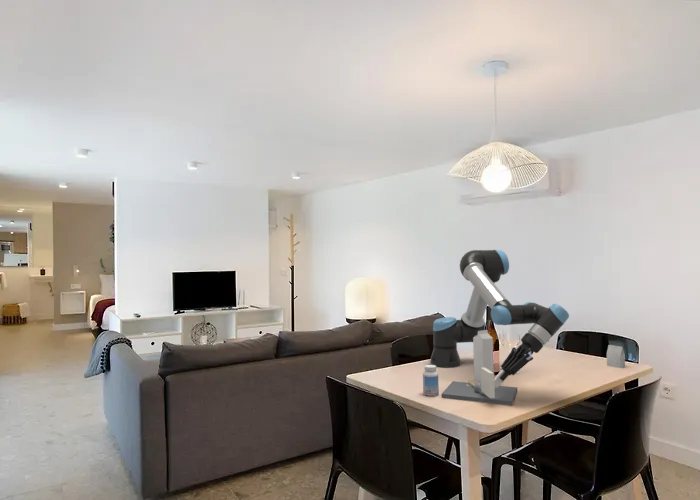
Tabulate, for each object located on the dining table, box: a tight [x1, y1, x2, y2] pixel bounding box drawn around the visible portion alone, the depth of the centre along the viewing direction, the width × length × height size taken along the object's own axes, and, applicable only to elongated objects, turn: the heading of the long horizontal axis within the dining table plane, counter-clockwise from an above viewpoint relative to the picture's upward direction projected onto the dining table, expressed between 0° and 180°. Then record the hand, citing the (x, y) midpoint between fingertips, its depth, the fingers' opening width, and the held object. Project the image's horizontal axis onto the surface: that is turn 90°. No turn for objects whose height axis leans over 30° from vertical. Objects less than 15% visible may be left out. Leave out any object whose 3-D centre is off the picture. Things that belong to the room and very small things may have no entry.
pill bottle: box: [422, 364, 440, 397], centre depth 186 cm, size 6×6×11 cm
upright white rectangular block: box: [467, 368, 495, 398], centre depth 182 cm, size 25×4×10 cm, turn 5°
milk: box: [472, 329, 495, 382], centre depth 205 cm, size 6×6×22 cm
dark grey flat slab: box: [441, 380, 518, 406], centre depth 184 cm, size 26×20×2 cm
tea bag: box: [606, 344, 626, 369], centre depth 227 cm, size 4×7×10 cm, turn 31°
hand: (493, 385), depth 174 cm, fingers closed
